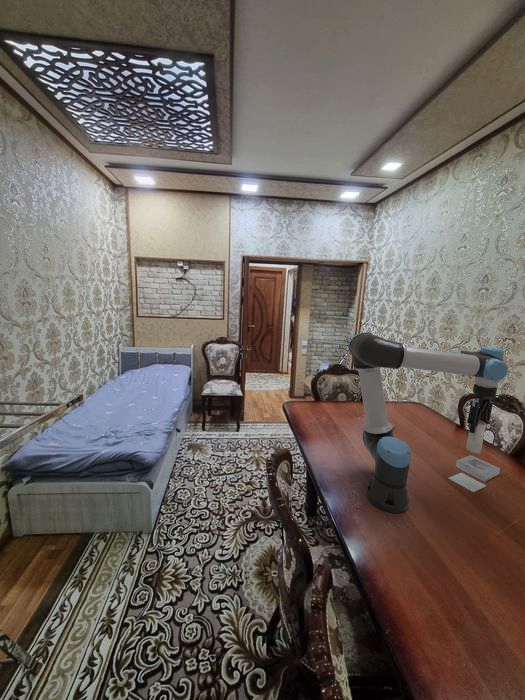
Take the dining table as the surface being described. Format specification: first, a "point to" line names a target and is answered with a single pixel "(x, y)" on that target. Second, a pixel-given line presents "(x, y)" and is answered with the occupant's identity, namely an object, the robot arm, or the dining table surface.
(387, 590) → the dining table surface
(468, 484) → the pad
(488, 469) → the housing
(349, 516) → the dining table surface
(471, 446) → the off-white cylinder
